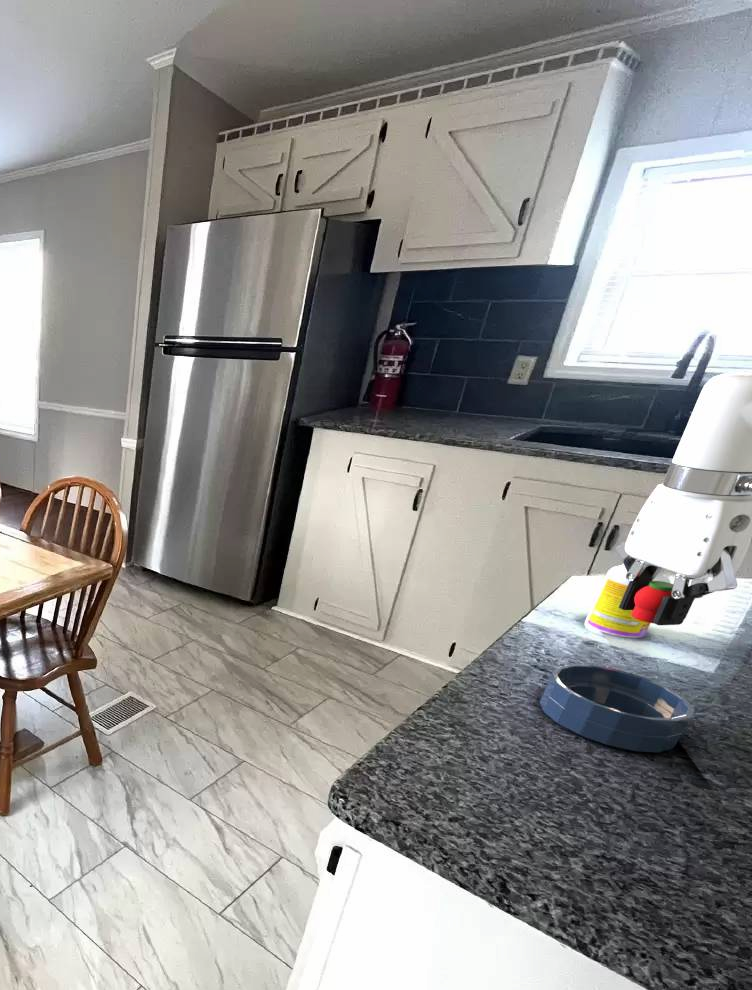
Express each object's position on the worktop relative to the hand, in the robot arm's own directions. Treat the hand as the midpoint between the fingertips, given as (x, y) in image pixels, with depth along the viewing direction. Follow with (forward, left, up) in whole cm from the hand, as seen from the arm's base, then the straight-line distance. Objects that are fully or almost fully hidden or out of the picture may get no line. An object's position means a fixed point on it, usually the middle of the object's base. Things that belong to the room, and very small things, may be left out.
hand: (649, 615), depth 84 cm
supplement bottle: (-2, -14, -9) cm, 17 cm away
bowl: (+6, +17, -9) cm, 20 cm away
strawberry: (0, 0, -1) cm, 1 cm away
